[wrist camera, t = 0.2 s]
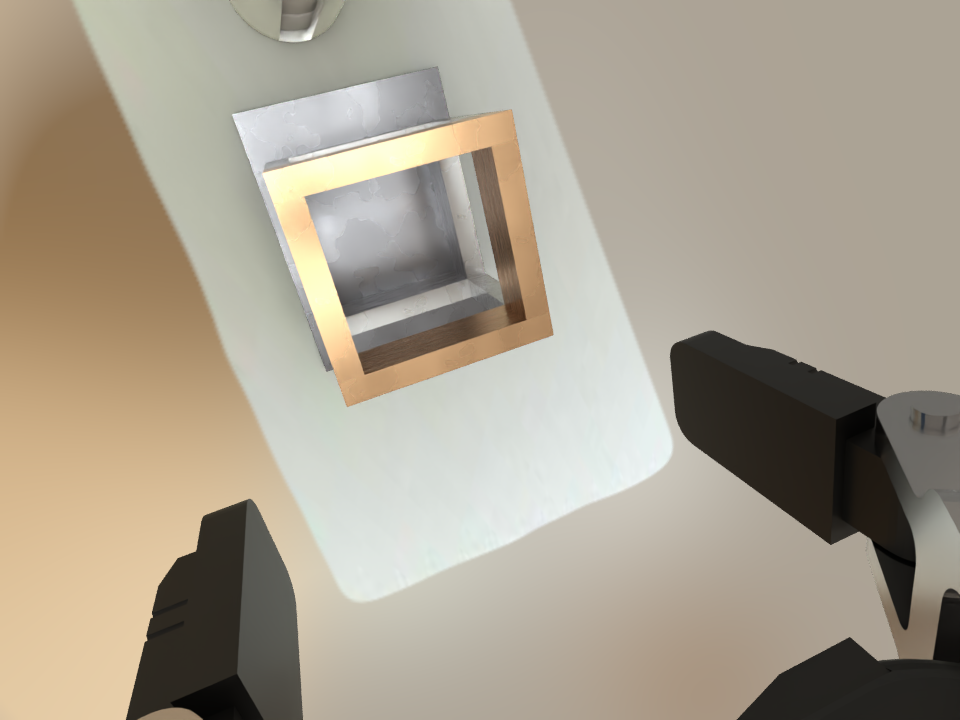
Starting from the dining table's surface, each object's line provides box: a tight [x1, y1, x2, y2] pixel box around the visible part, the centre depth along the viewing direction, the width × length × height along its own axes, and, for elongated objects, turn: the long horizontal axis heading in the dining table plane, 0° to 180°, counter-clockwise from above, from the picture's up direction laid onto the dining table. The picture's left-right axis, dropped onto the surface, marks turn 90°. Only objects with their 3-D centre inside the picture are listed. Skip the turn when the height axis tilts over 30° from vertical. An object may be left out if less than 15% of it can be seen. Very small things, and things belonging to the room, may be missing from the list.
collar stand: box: [232, 67, 553, 407], centre depth 32 cm, size 16×12×14 cm
